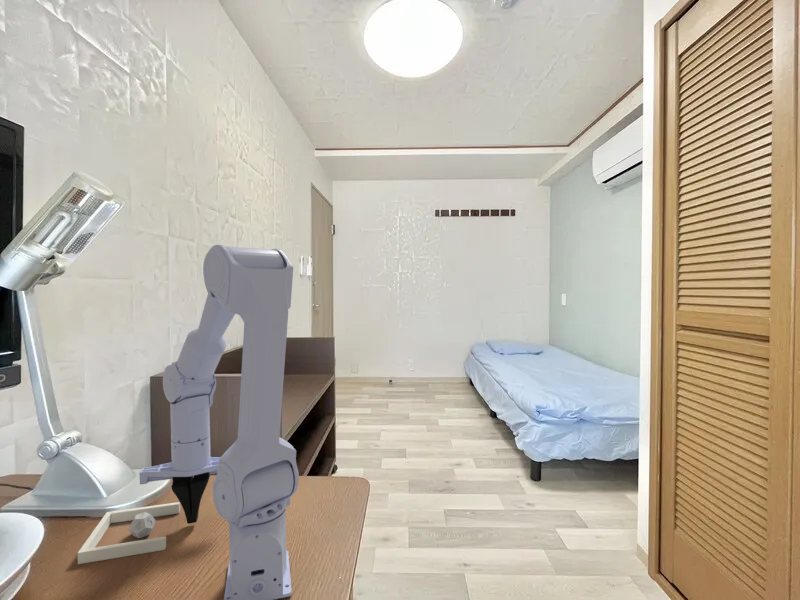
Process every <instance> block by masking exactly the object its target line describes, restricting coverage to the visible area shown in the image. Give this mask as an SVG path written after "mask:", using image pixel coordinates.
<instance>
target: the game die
mask: <svg viewBox="0 0 800 600" xmlns="http://www.w3.org/2000/svg"><path fill="white" fill-rule="evenodd" d="M155 523H156V518H155V517H153V516H152V515H151V514H149V513H146V512H144V513H141V514H138V515H136V516H135V518H134V519H133V520H131V524H130V526H129V529H128V531H129V532H130V533H131V535H132V536H133V537H135V538H136V539H142V538H144V537H147V536H149V535H151V533H152V530H153V529H154V526H155Z"/></svg>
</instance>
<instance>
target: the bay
mask: <svg viewBox="0 0 800 600" xmlns="http://www.w3.org/2000/svg"><path fill="white" fill-rule="evenodd" d="M144 512H146V513H149V514H151V515H152V516H153V518H155V517H156V518H157V517H163V516H169V515H175V514H176V515H177V514H180V512H181V503H180V501H178V502H170V503H163V504H154V505H150V506H149V505H148V506H140V507H134V508H128V509H118V510H113V511H106V513H105V514H104V516H103V517H102V518H101V520H100V521H99V522H98V524H97V525H96V527H95V528H94V529H93V531H92V532H91V534H90V535H89V536H88V537H87V539H86V541H85V542H84V543H83V544H82V546H81V547H80V549H79V550H78V552H77V565H81V564H82V565H83V564H88V563H93V562H99V561H104V560H105V561H106V560H111V559H118V558H123V557H124V558H125V557H130V556H134V555H141V554H147V553H148V554H149V553H153V552H160V551H165V550H166V548H167V536H166V535H164V536H160V537H154V538H153V537H152V538H147V539H141V540H133V541H129V542H128V541H127V542H126V541H125V542H122V543H115V544H109V545H103V546H102V545H101V546H98V543H99V542H100V540H101V539H102V537H103V536H104V535H105V533H106V531H108V528H109V527H110V525H111V524H114V523H122V522H128V521H133V519H134V518H135V516H136V515H138V514H141V513H144Z"/></svg>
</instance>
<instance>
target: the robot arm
mask: <svg viewBox="0 0 800 600" xmlns="http://www.w3.org/2000/svg"><path fill="white" fill-rule="evenodd" d="M202 271H203V272H202V273H203V281H204V286H205V288H206V292H207V295H206V296H207V297H206V300H205V303H204V305H203V310H202V314H201V318H200V320H199V325H198V328H195V329H193V330H191V331H189V332H188V333H187V335H186V339H185V341H184V343H183V345H182V348H181V350H180V354H179V355H178V358H177V360H176V361H173V362H171V364H169V365H166V367H165V368H164V372H163V376H162V389H163V393H164V396H165V399H167V401H168V402H169V407H170V410H169V412H170V417H169V418H170V444H171V445H170V447H171V448H170V449H171V450H170V451H171V453H170V454H171V461H170V462H168V463H167V462H166V463H161V464H158V465H153V466H152V465H151V466H148V467H142V469H141V470H140V471H139V472H138V473H139V485H140V486H141V485H147V484H148V483H151V482H159V481H166V480H172V484H171V487H170V488H171V491H172V492H173V493H174V495H175V496H176V498H177V499H178V502H180V506H181V507H182V509H183V512H184V516H185V519H186V524H195V523H197V522H198V519H199V510H200V505H201V500H202V498H203V495H204V492H205V489H206V488H207V486H208V483H209V480H210V478H211V475H213V474H216V475H215V478H214V480H213V483H212V490H211V491H212V500H213V503H214V507H215V509H216V511H217V513H218V515H219V516H220V517H221V518H222V519H223V520H225V522H228V537H229V538H228V540H229V541H228V542H229V546H228V547H229V561H228V566H227V574H226V581H225V587H224V588H225V589H224V590H225V591H224V596H223V597H224V598H223V600H278V599H284V598H288V597H291V595H292V593H293V592H292V591H293V589H292V581H291V570H290V569H291V568H290V557H289V555H290V553H289V551H288V550H287V529H286V528H287V521H286V518H287V516H286V515H287V514H286V513H287V512H286V508H288V507H290V505H291V497H293V496H294V495H295V494H296V492H297V490H298V487H299V481H300V475H299V469H298V465H297V459H296V458H297V450H296V448H294V446H293V445H292V444H291V443H290V442H288V441H287V440H286V439H284V438H282V437H281V433H280V432H281V423H282V421H281V420H282V408H283V407H282V405H283V393H284V381H285V379H284V378H285V364H286V353H287V352H286V348H287V336H288V335H287V334H288V320H289V309H290V308H292V307H291V306H292V292H293V291H292V290H293V289H292V288H293V279H294V278H293V277H294V265H293V264H292V263H291V261H290V260H289V258H288V257H287V255H286V254H285V252H283V251H282V250H281V249H278V248H271V249H266V248H254V247H253V248H252V247H238V246H237V247H236V246H226V245H223V244H214V245H212V246H211V247H210V248H209V250H208V251H207V253H206V254H205V255H204V261H203V267H202ZM235 315H238V316H239V317H240V319H242V321H243V339H242V340H243V342H242V356H241V360H242V361H241V371H240V372H241V373H240V374H241V376H240V390H239V391H240V392H239V410H238V411H239V412H238V422H237V423H238V424H237V425H238V427H237V438H236V440H235V441H234V442H233V443H232V445H230V446H229V448H227V449H226V450H225V452H224V453H223V454H222V455H221V456H218V457H217V456H215V457H214V456H211V424H210V420H211V419H210V416H211V415H210V414H211V413H210V409H211V407H213V404H214V395H215V394H214V393H215V392H216V389H217V388H216V387H217V379H216V374H215V372H216V369H217V368H218V365H219V362H220V361H221V359H222V356H223V354H224V352H225V350H226V347H227V344H226V340H225V338H224V335H225V332H226V331H227V329H228V327H229V326H230V324H231V322H232V321H233V318H234V317H235Z"/></svg>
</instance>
